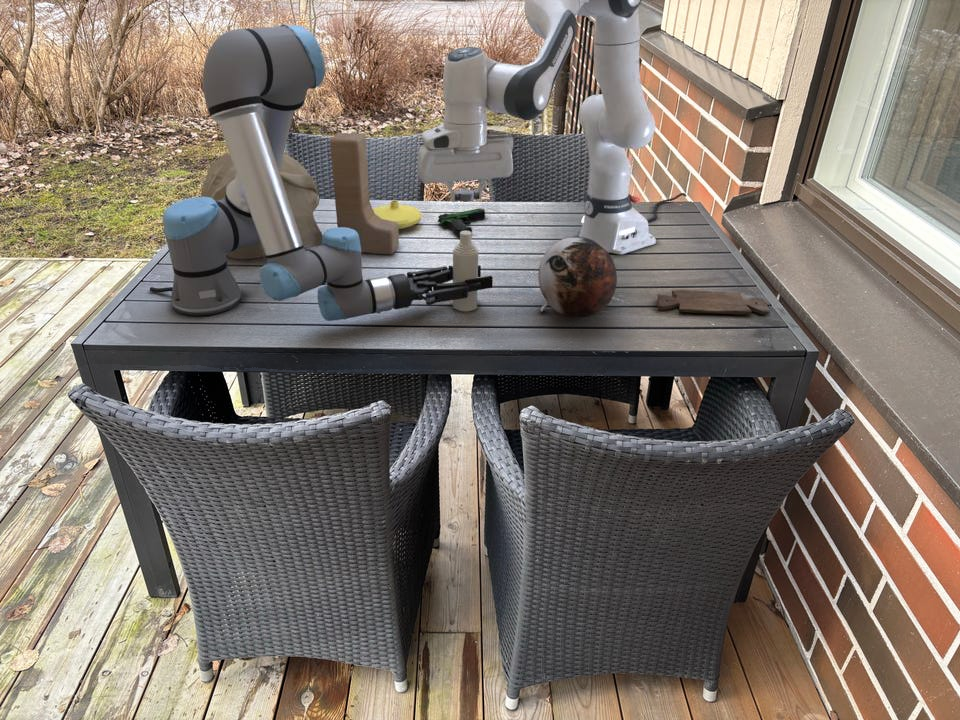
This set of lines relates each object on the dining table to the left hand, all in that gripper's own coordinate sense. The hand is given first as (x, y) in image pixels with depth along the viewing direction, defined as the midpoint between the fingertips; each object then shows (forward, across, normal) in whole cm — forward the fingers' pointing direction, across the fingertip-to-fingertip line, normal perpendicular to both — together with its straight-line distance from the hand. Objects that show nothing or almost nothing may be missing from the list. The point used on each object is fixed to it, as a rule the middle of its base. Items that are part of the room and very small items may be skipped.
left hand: (485, 276), depth 165 cm
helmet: (-41, -55, -6) cm, 68 cm away
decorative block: (-15, -42, -7) cm, 45 cm away
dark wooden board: (+48, +23, -7) cm, 53 cm away
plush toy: (+17, +13, -7) cm, 22 cm away
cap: (-5, 0, +20) cm, 21 cm away
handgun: (+16, -48, -7) cm, 51 cm away
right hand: (-5, 0, +19) cm, 19 cm away
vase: (-3, -57, -6) cm, 58 cm away
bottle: (-5, 0, -7) cm, 8 cm away
